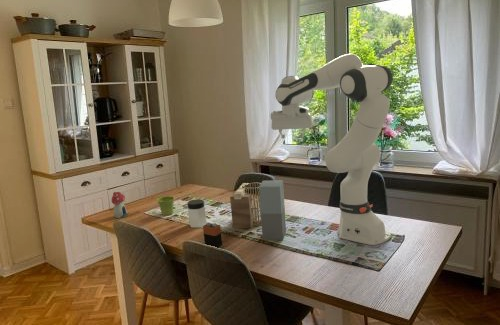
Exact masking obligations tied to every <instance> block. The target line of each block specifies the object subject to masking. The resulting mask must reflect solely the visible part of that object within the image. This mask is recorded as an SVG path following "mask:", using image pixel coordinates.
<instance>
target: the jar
mask: <svg viewBox="0 0 500 325" xmlns="http://www.w3.org/2000/svg"><path fill="white" fill-rule="evenodd" d="M186 204H187V215H188V221H189V226H190V227H191V228H195V229H196V228H197V229H199V228H203V226H204V225H206V224H207V223H208V222H207V215H206V207H205V201H204V200H203V199H199V198H197V199H192V200H188V201H187V203H186Z"/></svg>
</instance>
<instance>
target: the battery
mask: <svg viewBox="0 0 500 325" xmlns="http://www.w3.org/2000/svg"><path fill="white" fill-rule="evenodd" d="M206 223H207V224H206V225H204V226H202V231H203V240H204V245H205V244H207V245H211V246H215V247H217V248H219V247H221V246H222V245H223V235H222V228H221V226H222V225H220V224H217V222H215V223H214V222H213V223H211V222H206Z"/></svg>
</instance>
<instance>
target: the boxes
mask: <svg viewBox="0 0 500 325" xmlns="http://www.w3.org/2000/svg"><path fill="white" fill-rule="evenodd" d="M236 191H237V190H234V192H233V193H232V194H231V195H230V197H229V199H230V210H231V222H232V229H233V228H234V229H252V227H253V226H254V224H253V220H252V208H251V194H247V193H245V194H244V195H243V197H242V198H241V199H234V193H235V192H236ZM258 193H259V194H258V195H259V208H260V220H261V233H262V235H261V236H262V240H264V241H265V240H266V241H269V240H270V241H284V238H285V235H286V232H287V226H286V225H287V224H286V208H285V206H286V205H285V192H284V180H282V179H281V180H279V179H278V180H276V179H275V180H272V179H271V180H262V182H261V183H260V184H259V186H258Z"/></svg>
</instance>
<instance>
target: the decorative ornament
mask: <svg viewBox="0 0 500 325" xmlns="http://www.w3.org/2000/svg"><path fill="white" fill-rule="evenodd" d="M125 199H126V197H125V195H124V194H123V193H122V192H121V191H114V192H113V193H112V197H111V203H112V204H113V211H112V212H113V215H114V216H113V217H114V218H116V219H123V218H126V217H127V216H128V213H129V211H128V210H127V208H126V205H125V204H124V201H125Z"/></svg>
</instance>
